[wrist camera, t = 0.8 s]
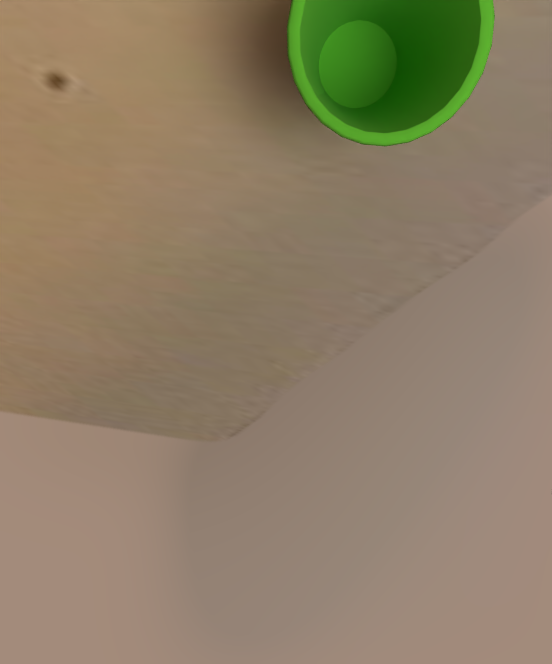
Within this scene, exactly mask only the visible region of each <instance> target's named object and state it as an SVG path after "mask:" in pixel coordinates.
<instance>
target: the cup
mask: <svg viewBox="0 0 552 664" xmlns="http://www.w3.org/2000/svg"><path fill="white" fill-rule="evenodd" d="M494 18H495V15H494V6H493V0H292V2H291V7H290V13H289V18H288V24H287V48H288V59H289V63H290V67H291V71H292V75H293V79H294V82H295V84H296V86H297V88H298V90H299V92H300V94H301V96H302V98H303V100H304V102H305V104H306V105H307V107H308V108H309V109H310V110H311V111H312V112H313V113H314V115H315V116H316V117H317V118H318V119H319V120H320V122H321V123H322V124H324V125H325V126H327V127H328V128H329V129H331V130H332V131H334V132H335V133H337V134H338V135H340V136H341V137H344V138H346V139H349V140H352V141H355V142H357V143H360V144H364V145H376V146H390V145H396V144H402V143H408V142H411V141H413V140H415V139H418V138H420V137H422V136H424V135H427V134H429V133H431V132H433V131H434V130H435V129H437V128H438V127H439V126H441V125H442V124H443V123H445V122H446V121H447V120H449V119H450V118H451V117H452V116H453V115H454V114H455V113H456V112H457V111H458V110H459V108H460V107H461V106H462V105H463V104H464V103H465V101H466V100H467V99H468V98H469V97H470V95H471V93H472V91H473V90H474V88H475V86H476V84H477V83H478V81H479V79H480V77H481V75H482V74H483V71H484V68H485V65H486V62H487V59H488V55H489V52H490V49H491V46H492V37H493V28H494Z"/></svg>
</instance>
